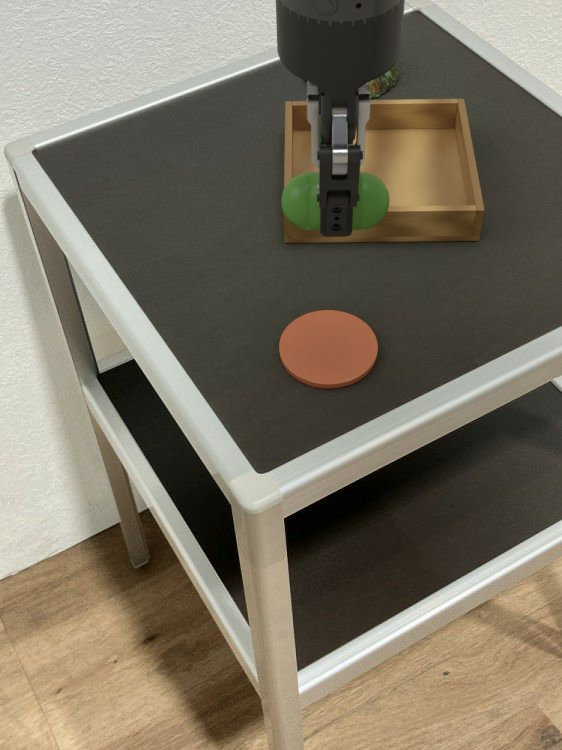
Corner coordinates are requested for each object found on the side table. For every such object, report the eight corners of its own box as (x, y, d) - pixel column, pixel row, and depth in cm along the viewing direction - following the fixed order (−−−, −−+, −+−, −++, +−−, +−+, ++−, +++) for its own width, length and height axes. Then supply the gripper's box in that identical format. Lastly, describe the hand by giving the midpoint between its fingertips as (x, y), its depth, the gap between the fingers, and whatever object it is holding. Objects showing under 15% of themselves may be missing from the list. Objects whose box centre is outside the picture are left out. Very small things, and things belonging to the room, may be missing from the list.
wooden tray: (459, 129, 97) (464, 98, 94) (479, 241, 86) (484, 210, 83) (286, 131, 97) (285, 101, 94) (284, 243, 87) (283, 212, 84)
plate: (375, 314, 81) (375, 309, 80) (380, 388, 76) (380, 383, 75) (279, 314, 81) (279, 310, 81) (278, 389, 76) (278, 384, 76)
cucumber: (386, 203, 71) (389, 159, 68) (389, 241, 68) (392, 197, 65) (282, 204, 71) (280, 160, 68) (281, 242, 68) (279, 198, 65)
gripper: (414, 49, 51) (394, 282, 64) (398, -78, 60) (383, 148, 73) (272, 51, 51) (280, 282, 64) (277, -76, 60) (284, 149, 73)
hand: (335, 210), depth 69 cm, fingers closed on cucumber, 4 cm apart
